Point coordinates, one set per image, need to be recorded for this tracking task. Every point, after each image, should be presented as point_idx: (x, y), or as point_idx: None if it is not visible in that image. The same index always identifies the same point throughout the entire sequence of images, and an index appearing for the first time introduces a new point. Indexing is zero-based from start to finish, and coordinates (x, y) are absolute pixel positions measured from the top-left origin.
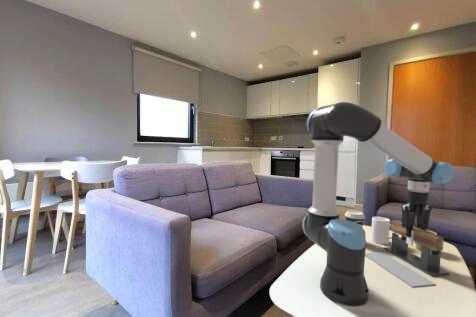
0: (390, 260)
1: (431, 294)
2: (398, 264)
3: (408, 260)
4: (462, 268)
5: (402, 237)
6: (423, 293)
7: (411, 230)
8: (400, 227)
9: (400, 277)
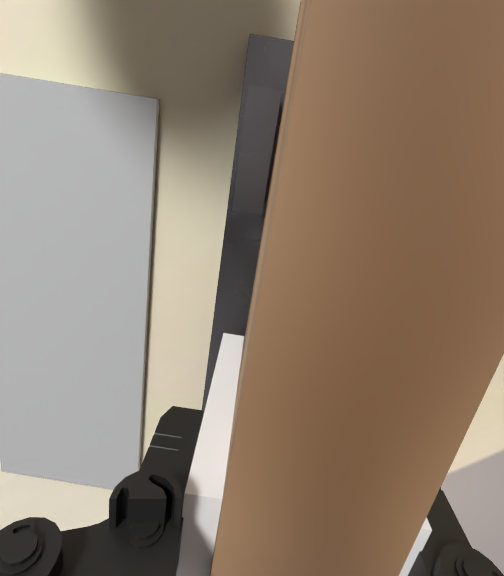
0: (103, 253)
1: (50, 515)
2: (113, 313)
3: (221, 312)
4: (494, 450)
5: None
6: (21, 503)
7: (179, 558)
8: (259, 277)
9: (2, 412)
